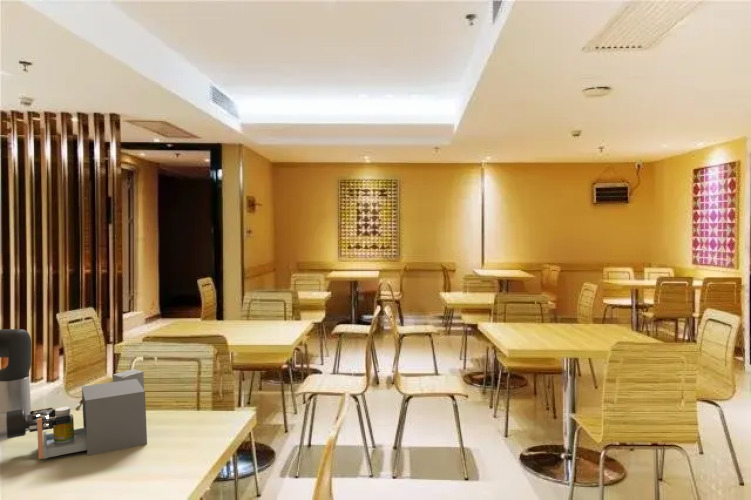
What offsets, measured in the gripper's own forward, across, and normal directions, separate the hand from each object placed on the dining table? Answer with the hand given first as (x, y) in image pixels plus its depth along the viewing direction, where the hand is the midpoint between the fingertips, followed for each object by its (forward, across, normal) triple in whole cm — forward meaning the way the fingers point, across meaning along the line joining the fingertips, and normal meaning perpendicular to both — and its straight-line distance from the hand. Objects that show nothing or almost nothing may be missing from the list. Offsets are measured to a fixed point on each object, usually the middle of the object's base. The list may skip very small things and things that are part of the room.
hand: (70, 414), depth 172 cm
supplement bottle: (-2, 0, +8) cm, 8 cm away
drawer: (0, -2, +8) cm, 9 cm away
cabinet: (+12, -2, +10) cm, 15 cm away
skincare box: (+19, +20, +10) cm, 29 cm away
